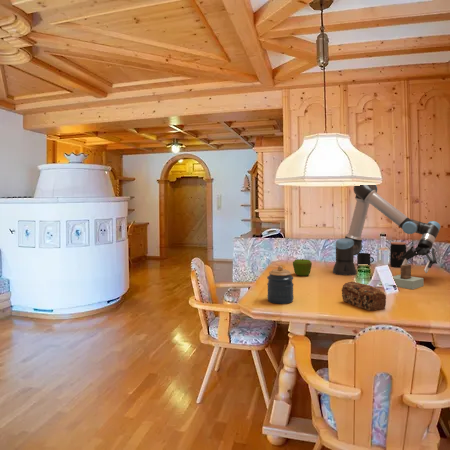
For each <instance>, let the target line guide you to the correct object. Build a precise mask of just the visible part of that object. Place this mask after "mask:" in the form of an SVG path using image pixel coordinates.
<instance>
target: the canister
mask: <svg viewBox="0 0 450 450" xmlns="http://www.w3.org/2000/svg"><path fill="white" fill-rule="evenodd" d="M268 274H269V275H267V276H266V277H267V281H268V282H267V294H266V296H267V297H266V298H267V301H268V302H269V303H272V304H279V305H280V304H281V305H286V304H290V303H291V304H292V302H293V301H294V283H293V279H294V276H292V272H291V271H290V270H289V269H285V268H283V266H282V265H278V266H277V268H275V269H272V270H270V271H268Z"/></svg>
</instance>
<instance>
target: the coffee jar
mask: <svg viewBox="0 0 450 450" xmlns="http://www.w3.org/2000/svg"><path fill="white" fill-rule="evenodd" d="M389 251H390V252H389V254H390V255H389V259H390V260H389V264H390V267H392V268H397V269H398V268H400V269H401V265H402V261H403V260H402V258H401V256H402V255H403V254H405V253H406V252H407V242H403V241H391V242H390V250H389Z"/></svg>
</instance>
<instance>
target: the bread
mask: <svg viewBox="0 0 450 450" xmlns="http://www.w3.org/2000/svg"><path fill="white" fill-rule="evenodd" d="M341 297H342V301H343V302H344V303H347V304H349V305H352V306H355V307H357V308H359V309H364V310H367V311H376V310H384V309H385V308H386V305H387V295H386V294H385V292H384V291H382V290H380V289H379V288H377V287H375V286H372V285H369V284H366V283H360V282H359V281H358V282H355V281H349V282H348V281H347V282H345V283H344V284H342V288H341Z"/></svg>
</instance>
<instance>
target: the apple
mask: <svg viewBox="0 0 450 450" xmlns="http://www.w3.org/2000/svg"><path fill="white" fill-rule="evenodd" d="M312 264H313V263H312V261H311V260H310V259H304V258H298V259H294V261H292V266H293V267H292V268H293V271H294V274H296V275H297V276H298V277H308V276H309V275H310V274H311V269H312Z"/></svg>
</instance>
